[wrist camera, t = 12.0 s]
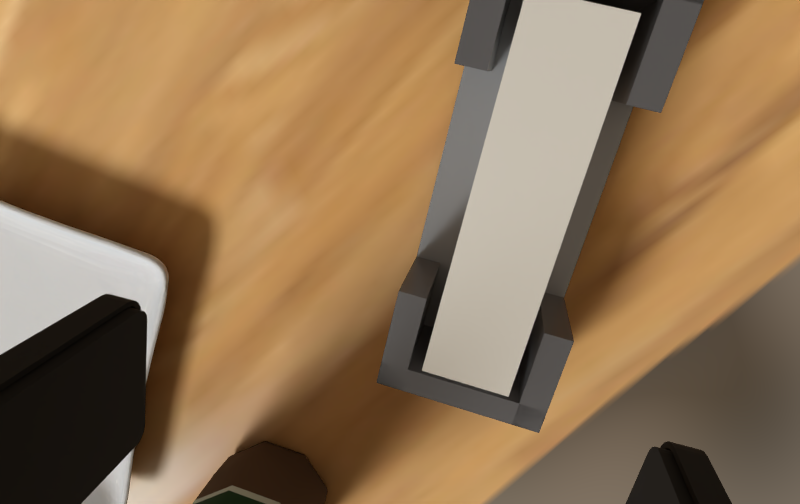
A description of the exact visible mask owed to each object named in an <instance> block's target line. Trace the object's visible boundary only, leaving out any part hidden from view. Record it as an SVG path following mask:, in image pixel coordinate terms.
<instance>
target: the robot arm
mask: <svg viewBox="0 0 800 504" xmlns="http://www.w3.org/2000/svg"><path fill="white" fill-rule="evenodd" d="M146 354H147V315H146V313H145V312H144V311H142V310H141V307H140V305H139V303H138V302H137V301H134V300H130V299H127V298H123V297H119V296H115V295H111V294H104V295H101V296H100V297H98V298H96V299H95V300H93V301H91V302H89V303H88V304H86V305H84V306H83V307H81V308H79V309H77V310H76V311H74V312H72V313H71V314H69V315H67V316H66V317H64V318H62V319H60V320H59V321H57V322H55V323H54V324H52V325H50V326H48V327H47V328H45V329H43V330H42V331H40V332H38V333H36V334H35V335H33V336H31V337H30V338H28V339H26V340H25V341H23V342H21V343H19V344H18V345H16V346H14V347H13V348H11V349H9V350H7V351H6V352H4V353H2V354H1V355H0V504H81V503H82V502H83V501H84V500H85V499H86V498H87V497H88V496H89V495H90V494H91V493H92V492H93V491H94V490H95V489H96V488H97V487H98V486H99V485H100V483H101V482H102V481H103V480H104V479H105V478H106V477H107V476H108V475H109V474H110V473H111V472H112V471H113V470H114V469H115V468H116V467H117V466H118V465H119V464H120V462H121V461H122V460H123V459H124V458H125V457H126V456H127V455H128V454H129V453H130V452H131V451H132V450H133V449H134V448H135V447H136V445H137V444H138V443H139V441H140V439H141V437H142V435H143V432H144V428H145V396H146ZM626 504H732V503H731V501H730V499H729V497H728V495H727V493H726V492H725V489H724V488H723V486H722V484H721V482H720V480H719V478H718V476H717V474H716V472H715V470H714V468H713V466H712V465H711V462H710V460H709V458H708V456H707V455H706V454H705V452H704V451H702V450H699V449H695V448H692V447H687V446H684V445H680V444H676V443H673V442H665V443H664V444H663V445H662V446H661V448H658V447H652V448H651V449H650V450H649V452H648V454H647V456H646V459H645V461H644V463H643V466H642V468H641V470H640V472H639V475H638V477H637V479H636V481H635V484H634V486H633V488H632V491H631V493H630V495H629V497H628V500H627V502H626Z"/></svg>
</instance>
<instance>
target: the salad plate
mask: <svg viewBox="0 0 800 504" xmlns="http://www.w3.org/2000/svg"><path fill="white" fill-rule="evenodd" d="M168 282H169V274H168V271H167V269H166V266H165V265H164V264H163V263H162V262H161V261H160V260H159V259H158V258H156V257H155V256H153V255H151V254H148V253H145V252H143V251H140V250H137V249H134V248H131V247H129V246H126V245H123V244H120V243H117V242H114V241H112V240H109V239H106V238H103V237H100V236H97V235H95V234H92V233H89V232H86V231H83V230H79V229H76V228H73V227H70V226H68V225H65V224H62V223H59V222H57V221H54V220H51V219H48V218H46V217H43V216H40V215H37V214H34V213H32V212H29V211H26V210H24V209H21V208H19V207H16V206H14V205H11V204H9V203H6V202H4V201H1V200H0V355H1V354H2V353H4V352H6V351H7V350H9V349H11V348H13V347H14V346H16V345H18V344H19V343H21V342H23V341H25V340H26V339H28V338H30V337H31V336H33V335H35V334H36V333H38V332H40V331H42V330H43V329H45V328H47V327H48V326H50V325H52V324H54V323H55V322H57V321H59V320H60V319H62V318H64V317H66V316H67V315H69V314H71V313H72V312H74V311H76V310H77V309H79V308H81V307H83V306H84V305H86V304H88V303H89V302H91V301H93V300H95V299H96V298H98V297H100V296H101V295H104V294H111V295H115V296H119V297H123V298H127V299H130V300H134V301H137V302H138V303H139V305H140V307H141V310H142V311H144V312H145V313H146V315H147V354H146V382H147V378H148V373H149V369H150V364H151V360H152V356H153V352H154V348H155V344H156V340H157V337H158V333H159V329H160V325H161V321H162V317H163V314H164V309H165V305H166V298H167V290H168ZM133 455H134V449H133V450H132V451H131V452H130V453H129V454H128V455H127V456H126V457H125V458H124V459H123V460H122V461H121V462H120V464H119V465H118V466H117V467H116V468H115V469H114V470H113V471H112V472H111V473H110V474H109V475H108V476H107V477H106V478H105V479H104V480H103V481H102V482H101V483H100V485H99V486H98V487H97V488H96V489H95V490H94V491H93V492H92V493H91V494H90V495H89V496H88V497H87V498H86V499H85V500H84V501H83V502H82V503H81V504H127V500H128V494H129V486H130V478H131V470H132V463H133Z"/></svg>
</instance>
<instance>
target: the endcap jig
mask: <svg viewBox="0 0 800 504" xmlns="http://www.w3.org/2000/svg"><path fill="white" fill-rule="evenodd" d="M583 1H588V2H592V3H597V4H601V5H606V6H610V7H615V8H620V9H624V10H629V11H633V12H638V13H641V16H640V19H639V21H638V24H637V27H636V30H635V33H634V36H633V39H632V42H631V45H630V47H629V50H628V53H627V56H626V59H625V62H624V65H623V68H622V71H621V73H620V76H619V79H618V82H617V85H616V88H615V91H614V94H613V97H612V99H611V102H610V105H609V108H608V111H607V114H606V117H605V120H604V123H603V125H602V128H601V131H600V134H599V137H598V140H597V143H596V146H595V149H594V151H593V154H592V157H591V160H590V163H589V166H588V169H587V172H586V174H585V177H584V180H583V183H582V186H581V189H580V192H579V195H578V198H577V200H576V203H575V206H574V209H573V212H572V215H571V218H570V221H569V224H568V226H567V229H566V232H565V235H564V238H563V241H562V244H561V247H560V250H559V252H558V255H557V258H556V261H555V264H554V267H553V270H552V273H551V276H550V278H549V281H548V284H547V287H546V290H545V293H544V296H543V299H542V302H541V304H540V307H539V310H538V313H537V316H536V319H535V322H534V325H533V328H532V330H531V333H530V336H529V339H528V342H527V345H526V348H525V351H524V354H523V356H522V359H521V362H520V365H519V368H518V371H517V374H516V377H515V380H514V382H513V385H512V388H511V391H510V394H509V397H507V396H504V395H501V394H497V393H494V392H491V391H488V390H484V389H481V388H478V387H474V386H471V385H468V384H464V383H461V382H458V381H455V380H451V379H448V378H445V377H441V376H438V375H435V374H431V373H428V372H425V371H422V368H423V364H424V361H425V357H426V353H427V350H428V346H429V342H430V339H431V335H432V332H433V328H434V324H435V321H436V317H437V313H438V310H439V306H440V302H441V299H442V295H443V291H444V288H445V284H446V281H447V277H448V273H449V270H450V266H451V262H452V259H453V255H454V251H455V248H456V244H457V241H458V237H459V233H460V230H461V226H462V222H463V219H464V215H465V211H466V208H467V204H468V200H469V197H470V193H471V190H472V186H473V182H474V179H475V175H476V171H477V168H478V164H479V160H480V157H481V153H482V149H483V146H484V142H485V139H486V135H487V131H488V128H489V124H490V120H491V117H492V113H493V109H494V106H495V102H496V98H497V95H498V91H499V88H500V84H501V80H502V77H503V73H504V69H505V66H506V62H507V58H508V55H509V51H510V47H511V44H512V40H513V37H514V33H515V29H516V26H517V22H518V18H519V15H520V11H521V7H522V4H523V0H470V2H469V6H468V10H467V14H466V18H465V22H464V27H463V31H462V35H461V39H460V43H459V47H458V51H457V55H456V59H455V64H459V65H463V66H465V67H464V71H463V74H462V78H461V82H460V86H459V90H458V94H457V98H456V102H455V106H454V110H453V114H452V118H451V122H450V126H449V130H448V134H447V138H446V142H445V146H444V150H443V154H442V158H441V162H440V166H439V170H438V174H437V178H436V182H435V186H434V190H433V194H432V198H431V202H430V206H429V210H428V214H427V218H426V222H425V226H424V230H423V234H422V238H421V242H420V246H419V250H418V254H417V257H416V259H415V261H414V263H413V265H412V267H411V269H410V271H409V272H408V274H407V276H406V278H405V280H404V282H403V284H402V286H401V288H400V290H399V293H398V297H397V301H396V305H395V309H394V313H393V317H392V321H391V325H390V329H389V334H388V338H387V342H386V346H385V350H384V354H383V358H382V362H381V366H380V370H379V374H378V379H377V383H379V384H383V385H386V386H389V387H392V388H395V389H399V390H402V391H405V392H408V393H412V394H415V395H418V396H421V397H425V398H428V399H431V400H434V401H437V402H441V403H444V404H447V405H450V406H454V407H457V408H460V409H463V410H467V411H470V412H473V413H476V414H479V415H483V416H486V417H489V418H492V419H496V420H499V421H502V422H505V423H508V424H512V425H515V426H518V427H521V428H525V429H528V430H531V431H534V432H538V433H539V431H540V429H541V426H542V424H543V421H544V418H545V416H546V413H547V410H548V408H549V405H550V403H551V400H552V397H553V395H554V392H555V390H556V387H557V384H558V382H559V379H560V376H561V374H562V371H563V369H564V366H565V363H566V361H567V358H568V355H569V353H570V350H571V348H572V345H573V342H574V340H573V336H572V331H571V327H570V323H569V318H568V314H567V309H566V305H565V300H564V296H565V293H566V290H567V288H568V285H569V282H570V279H571V277H572V274H573V271H574V268H575V266H576V263H577V260H578V257H579V255H580V252H581V249H582V246H583V244H584V241H585V238H586V235H587V233H588V230H589V227H590V224H591V222H592V219H593V216H594V213H595V211H596V208H597V205H598V202H599V199H600V197H601V194H602V191H603V188H604V186H605V183H606V180H607V177H608V175H609V172H610V169H611V166H612V164H613V161H614V158H615V155H616V153H617V150H618V147H619V144H620V142H621V139H622V136H623V133H624V131H625V128H626V125H627V122H628V119H629V117H630V114H631V111H632V108H633V106H634V107H638V108H642V109H647V110H651V111H655V112H659V113H661V112H662V109H663V106H664V104H665V101H666V99H667V96H668V93H669V91H670V88H671V85H672V83H673V80H674V78H675V75H676V72H677V70H678V67H679V65H680V62H681V59H682V57H683V54H684V51H685V49H686V46H687V44H688V41H689V38H690V36H691V33H692V30H693V28H694V25H695V23H696V20H697V17H698V15H699V12H700V9H701V7H702V4H703V2H704V0H583Z"/></svg>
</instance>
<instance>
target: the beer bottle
mask: <svg viewBox="0 0 800 504" xmlns="http://www.w3.org/2000/svg"><path fill="white" fill-rule="evenodd" d="M326 495H327V488H326V486H325V485H324V483H323V482H322V480H321V479H320V477H319V476H318V474H317V473H316V471H315V470H314V468H313V467H312V465H311V464H310V462H309V461H308V459H307V458H306V456H305V455H303V454H300V453H297V452H294V451H292V450H289V449H286V448H283V447H280V446H277V445H275V444H272V443H269V442H266V441H265V442H263V443H261V444H258V445H256V446H253V447H251V448H249V449H246V450H244V451H241V452H239V453H237V454H234V455H232V456H230V457H229V458H228V459H227V460H226V461H225V462H224V463H223V465H222V466H221V467H220V468H219V469H218V471H217V472H216V473H215V474H214V475H213V477H212V478H211V479H210V481H209V482H208V484H207V485H206V486H205V488H204V489H203V490H202V492H201V493H200V494H199V496H198V497H197V498H196V500H195V501H194V502H193V504H324V503H325V499H326Z"/></svg>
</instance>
